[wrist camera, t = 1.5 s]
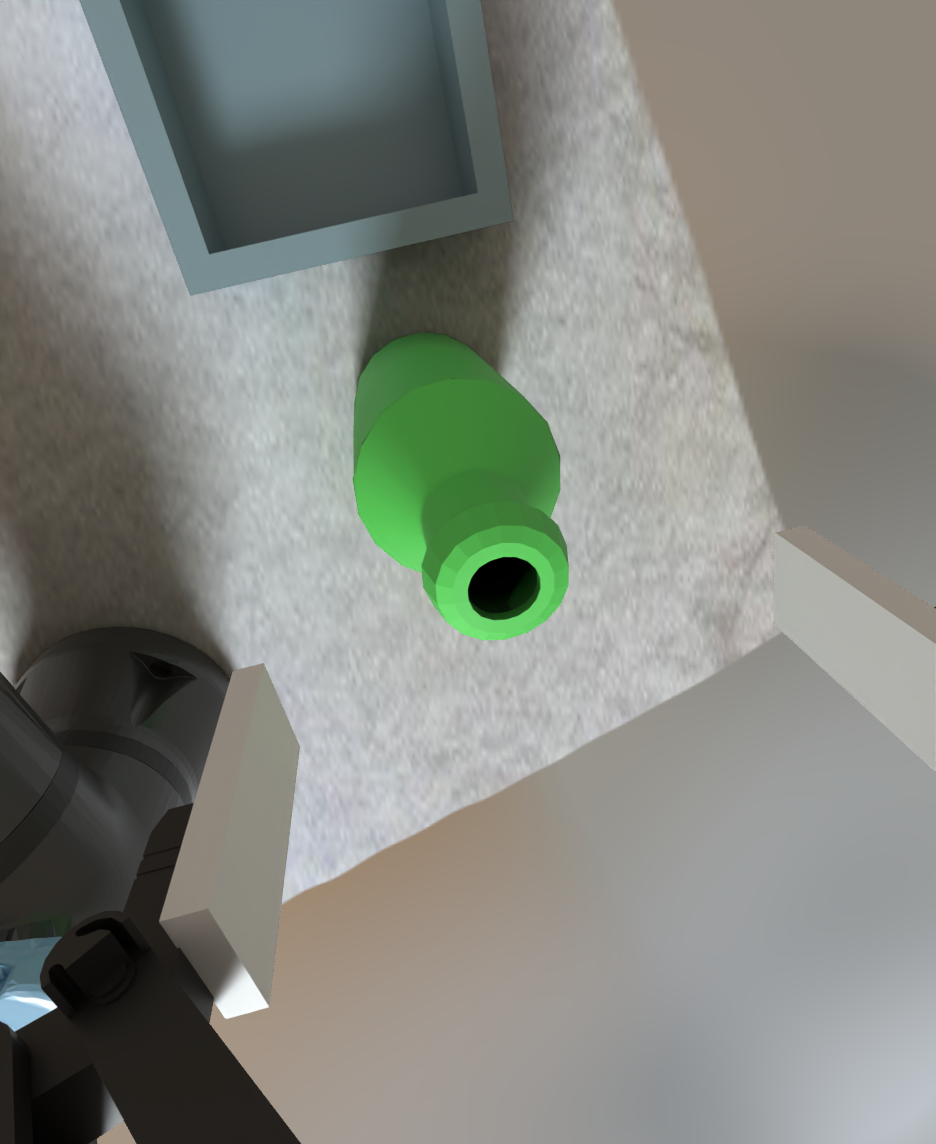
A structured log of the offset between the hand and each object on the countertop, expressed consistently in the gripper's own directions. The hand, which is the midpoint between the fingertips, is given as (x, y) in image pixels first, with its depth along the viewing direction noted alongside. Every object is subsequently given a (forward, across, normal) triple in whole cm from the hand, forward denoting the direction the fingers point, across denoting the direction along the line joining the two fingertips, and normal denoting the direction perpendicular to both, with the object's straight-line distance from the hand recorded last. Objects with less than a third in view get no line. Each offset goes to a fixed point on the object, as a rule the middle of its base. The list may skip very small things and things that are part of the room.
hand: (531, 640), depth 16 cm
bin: (+28, -2, +17) cm, 33 cm away
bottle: (+28, 0, 0) cm, 28 cm away
